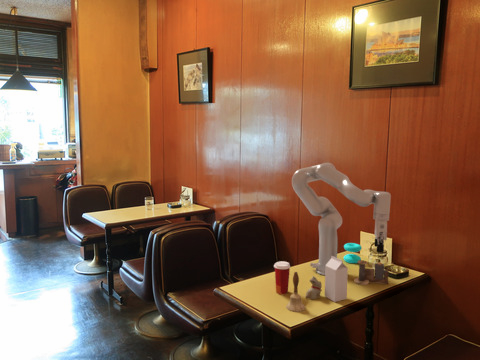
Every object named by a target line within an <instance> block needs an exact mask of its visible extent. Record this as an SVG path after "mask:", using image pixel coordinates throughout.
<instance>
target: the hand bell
mask: <svg viewBox="0 0 480 360" xmlns="http://www.w3.org/2000/svg"><path fill="white" fill-rule="evenodd" d="M292 283H293V284H292V285H293V293H292V294H290V297H289V299H290V300H289V302H288V303H287V304H286V307H285V308H286V309H287V310H288V311H289V312H295V313H299V312H303V311H305V309H306V306H305V305H304V304H303V301H302V296H301V294H299V291H298V289H299V287H298V286H299V283H300V277H299V273H298V272H297V271H294V273H293V275H292Z"/></svg>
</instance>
